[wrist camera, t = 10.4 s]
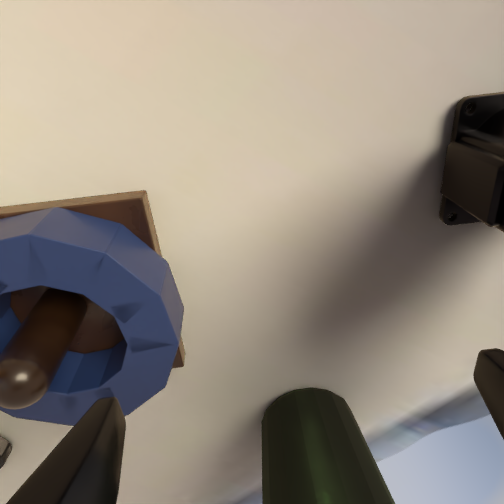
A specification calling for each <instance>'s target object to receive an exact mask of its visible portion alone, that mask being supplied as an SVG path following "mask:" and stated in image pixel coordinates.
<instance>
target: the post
mask: <svg viewBox="0 0 504 504" xmlns="http://www.w3.org/2000/svg"><path fill="white" fill-rule="evenodd" d="M53 207H59V208H63V209H67V210H71V211H75V212H79V213H83V214H86V215H90V216H94V217H98V218H102V219H106V220H110V221H113V222H117V223H121V224H123V225H124V226H125V227H126V228H127V229H129V230H130V231H131V232H132V233H133V234H135V235H136V236H137V237H138V238H139V239H141V240H142V241H143V242H144V243H145V244H147V245H148V246H149V247H150V248H151V249H152V250H154V251H155V252H156V253H157V254H158V255H160V256H161V257H162V255H161V251H160V247H159V243H158V238H157V234H156V230H155V226H154V222H153V218H152V213H151V209H150V205H149V201H148V197H147V193H146V191H144V190H143V191H134V192H126V193H117V194H109V195H100V196H91V197H83V198H74V199H65V200H57V201H48V202H40V203H31V204H22V205H14V206H5V207H0V219H3V218H7V217H12V216H17V215H21V214H26V213H30V212H35V211H39V210H44V209H49V208H53ZM10 307H11V308H12V310H13V311H14V313H15V315H16V316H17V318H18V319H19V321H20V323H21V326H20V327H19V328H18V330H17V331H16V333H15V334H14V335H13V337H12V338H11V340H10V341H9V343H8V344H7V345H6V347H5V348H4V350H3V351H2V352H1V354H0V407H3V408H6V409H21V408H25V407H28V406H30V405H32V404H34V403H36V402H37V401H38V400H40V399H41V398H42V397H43V396H44V395H45V393H46V392H47V391H48V389H49V387H50V385H51V383H52V381H53V379H54V377H55V375H56V373H57V371H58V369H59V367H60V365H61V363H62V361H63V359H64V357H65V355H66V353H67V351H73V352H78V353H83V354H86V353H91V352H95V351H100V350H105V349H110V348H113V347H114V346H116V345H117V344H118V343H119V342H120V341H122V340H123V339H124V336H123V334H122V332H121V330H120V328H119V326H118V324H117V322H116V320H115V317H114V316H112V315H111V314H110V313H108V312H107V311H105V310H104V309H103V308H101V307H100V306H98V305H97V304H95V303H94V302H93V301H91V300H90V299H88V298H87V297H86V296H84V295H83V294H78V293H74V292H69V291H64V290H60V289H55V288H51V287H46V286H41V285H40V286H36V287H31V288H26V289H21V290H17V291H12V292H11V301H10ZM184 360H185V351H184V346H183V342H182V338H181V335H180V342H179V347H178V350H177V353H176V356H175V359H174V362H173V365H172V368H178V367H183V366H184Z"/></svg>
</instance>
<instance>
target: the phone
mask: <svg viewBox="0 0 504 504" xmlns="http://www.w3.org/2000/svg"><path fill="white" fill-rule="evenodd" d="M11 449H12V446H11V444H10V443H9V442H8V441H7V440H6V439H4V438H2V437H0V469H1V468H2V467H3V465H4V464H5V462H6V460H7V458H8V456H9V454H10V452H11Z"/></svg>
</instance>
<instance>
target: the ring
mask: <svg viewBox="0 0 504 504" xmlns="http://www.w3.org/2000/svg"><path fill="white" fill-rule="evenodd" d="M40 285H41V286H46V287H51V288H55V289H60V290H64V291H69V292H74V293H78V294H83V295H84V296H86V297H87V298H88V299H90V300H91V301H93V302H94V303H95V304H97V305H98V306H100V307H101V308H103V309H104V310H105V311H107V312H108V313H110V314H111V315H112V316H114V317H115V320H116V322H117V324H118V326H119V328H120V330H121V332H122V334H123V336H124V339H123V340H122V341H120V342H119V343H118V344H117V345H116V346H114V347H113V348H110V349H105V350H100V351H95V352H91V353H86V354H83V353H78V352H73V351H67V353H66V355H65V357H64V359H63V361H62V363H61V365H60V367H59V369H58V371H57V373H56V375H55V377H54V379H53V381H52V383H51V385H50V387H49V389H48V391H47V392H46V393H45V395H44V396H43V397H42V398H41V399H40V400H38V401H37V402H36V403H34V404H32V405H30V406H28V407H25V408H21V409H6V408H3V407H0V410H1V411H3V412H5V413H7V414H9V415H11V416H13V417H16V418H22V419H29V420H36V421H43V422H50V423H57V424H63V425H70V426H74V425H75V424H76V423H77V422H78V421H79V420H80V419H81V418H82V416H83V415H84V414H85V413H86V412H87V411H88V410H89V408H90V407H91V406H92V405H93V404H94V403H95V402H96V401H97V400H98V399H100V398H105V397H116V398H117V399H118V401H119V404H120V407H121V409H122V412H123V414H124V416H125V415H129V414H130V413H131V412H133V411H134V410H135V409H137V408H138V407H139V406H141V405H142V404H143V403H145V402H146V401H147V400H149V399H150V398H151V397H153V396H154V395H155V394H157V393H158V392H159V391H161V390H162V389H163V388H165V386H166V384H167V381H168V378H169V375H170V372H171V369H172V365H173V362H174V359H175V356H176V353H177V350H178V347H179V342H180V335H181V327H182V320H183V312H184V306H183V303H182V301H181V298H180V295H179V292H178V289H177V287H176V284H175V281H174V278H173V275H172V273H171V270H170V267H169V264H168V263H167V261H166V260H164V259H163V258H162V257H161V256H160V255H158V254H157V253H156V252H155V251H154V250H152V249H151V248H150V247H149V246H148V245H147V244H145V243H144V242H143V241H142V240H141V239H139V238H138V237H137V236H136V235H135V234H133V233H132V232H131V231H130V230H129V229H127V228H126V227H125V226H124V225H123V224H121V223H117V222H113V221H110V220H106V219H102V218H98V217H94V216H90V215H86V214H83V213H79V212H75V211H71V210H67V209H63V208H59V207H53V208H49V209H44V210H39V211H35V212H30V213H26V214H21V215H17V216H12V217H7V218H3V219H0V354H1V352H2V351H3V350H4V348H5V347H6V345H7V344H8V343H9V341H10V340H11V338H12V337H13V335H14V334H15V333H16V331H17V330H18V328H19V327H20V326H21V323H20V321H19V319H18V318H17V316H16V315H15V313H14V311H13V310H12V308H11V307H10V301H11V292H12V291H17V290H21V289H26V288H31V287H36V286H40Z"/></svg>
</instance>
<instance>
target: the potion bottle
mask: <svg viewBox="0 0 504 504" xmlns="http://www.w3.org/2000/svg"><path fill="white" fill-rule="evenodd" d="M262 494H263V504H395V502H394V500H393V498H392V496H391V494H390V492H389V490H388V488H387V485H386V484H385V481H384V479H383V477H382V475H381V473H380V471H379V468H378V466H377V464H376V462H375V460H374V458H373V456H372V454H371V452H370V449H369V447H368V445H367V443H366V441H365V439H364V437H363V435H362V433H361V430H360V428H359V426H358V424H357V422H356V420H355V418H354V416H353V414H352V411H351V409H350V408H349V406H348V405H347V403H346V402H345V400H344V399H343V398H342V397H340V396H338V395H336V394H334V393H333V392H331V391H328V390H324V389H317V388H306V389H299V390H294V391H292V392H290V393H287V394H285V395H283V396H281V397H279V398H278V399H277V400H276V401H275V402H274V403H273V404H272V405H271V406H270V407H269V408H268V409H267V410H266V412H265V415H264V417H263V419H262Z"/></svg>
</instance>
